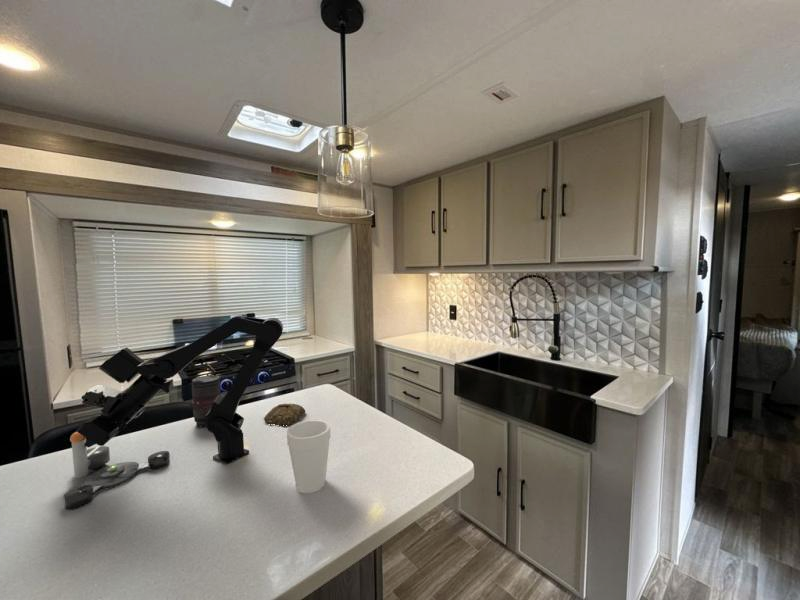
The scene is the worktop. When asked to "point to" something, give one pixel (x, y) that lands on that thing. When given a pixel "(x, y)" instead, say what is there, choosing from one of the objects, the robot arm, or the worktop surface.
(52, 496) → the worktop surface
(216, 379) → the camera lens
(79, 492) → the tribrach
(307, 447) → the foam cup
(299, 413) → the brown rock
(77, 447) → the footscrew lever
